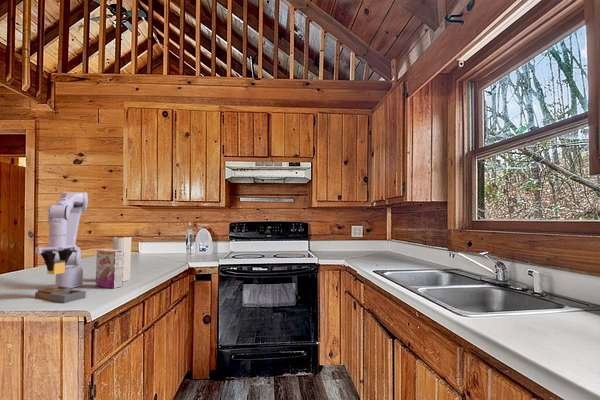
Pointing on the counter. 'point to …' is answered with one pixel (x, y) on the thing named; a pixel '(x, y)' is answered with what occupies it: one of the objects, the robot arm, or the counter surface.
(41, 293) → the upper socket
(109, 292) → the counter surface
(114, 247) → the paper towel roll
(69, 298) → the lower socket
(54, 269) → the plug
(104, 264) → the candy bar box
